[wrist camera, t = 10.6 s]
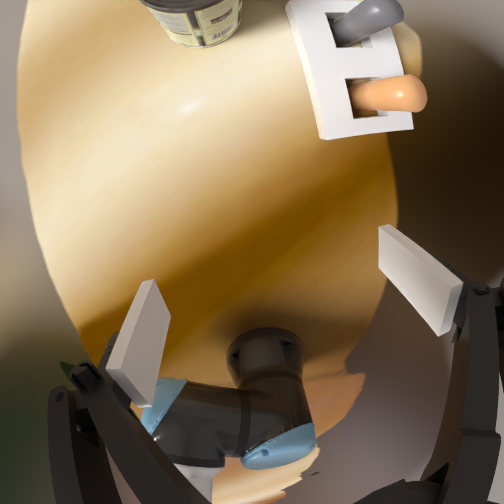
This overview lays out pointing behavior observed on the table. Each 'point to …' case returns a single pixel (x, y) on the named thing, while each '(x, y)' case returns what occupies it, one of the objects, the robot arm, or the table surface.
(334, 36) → the ball
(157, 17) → the coffee can
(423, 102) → the jaw pin orange
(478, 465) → the robot arm
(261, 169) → the table surface
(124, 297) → the table surface
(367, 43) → the housing
